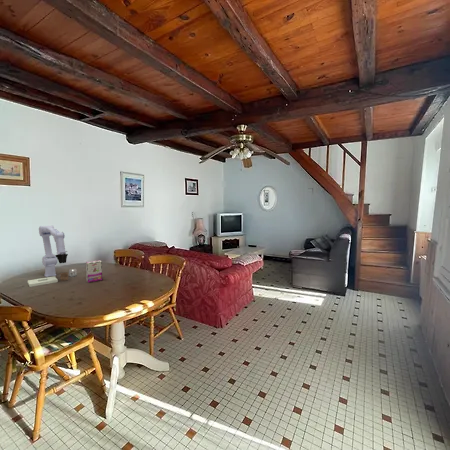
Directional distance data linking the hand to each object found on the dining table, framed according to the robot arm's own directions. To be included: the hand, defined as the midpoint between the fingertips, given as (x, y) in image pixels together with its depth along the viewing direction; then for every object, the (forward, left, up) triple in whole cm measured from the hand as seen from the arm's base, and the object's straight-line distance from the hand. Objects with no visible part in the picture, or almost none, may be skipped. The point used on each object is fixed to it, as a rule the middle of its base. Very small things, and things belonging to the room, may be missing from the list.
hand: (62, 263), depth 197 cm
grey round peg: (-11, +9, -15) cm, 21 cm away
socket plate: (-7, -13, -15) cm, 21 cm away
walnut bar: (-4, +1, -15) cm, 16 cm away
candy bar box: (+14, +19, -16) cm, 29 cm away
